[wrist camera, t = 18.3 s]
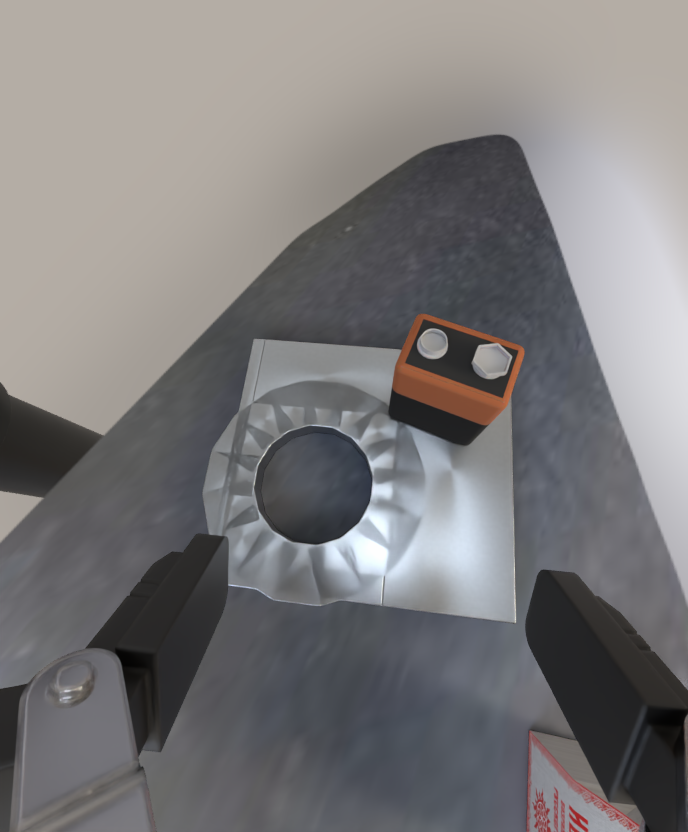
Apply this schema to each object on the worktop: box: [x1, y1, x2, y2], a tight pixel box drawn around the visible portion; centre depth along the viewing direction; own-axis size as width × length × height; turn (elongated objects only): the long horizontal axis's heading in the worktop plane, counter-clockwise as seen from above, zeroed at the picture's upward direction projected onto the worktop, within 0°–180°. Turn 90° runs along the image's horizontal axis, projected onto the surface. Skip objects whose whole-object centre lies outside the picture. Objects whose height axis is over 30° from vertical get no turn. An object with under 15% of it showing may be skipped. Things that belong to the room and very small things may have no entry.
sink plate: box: [202, 339, 516, 624], centre depth 31 cm, size 24×21×2 cm
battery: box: [388, 314, 525, 446], centre depth 27 cm, size 4×7×10 cm, turn 67°
